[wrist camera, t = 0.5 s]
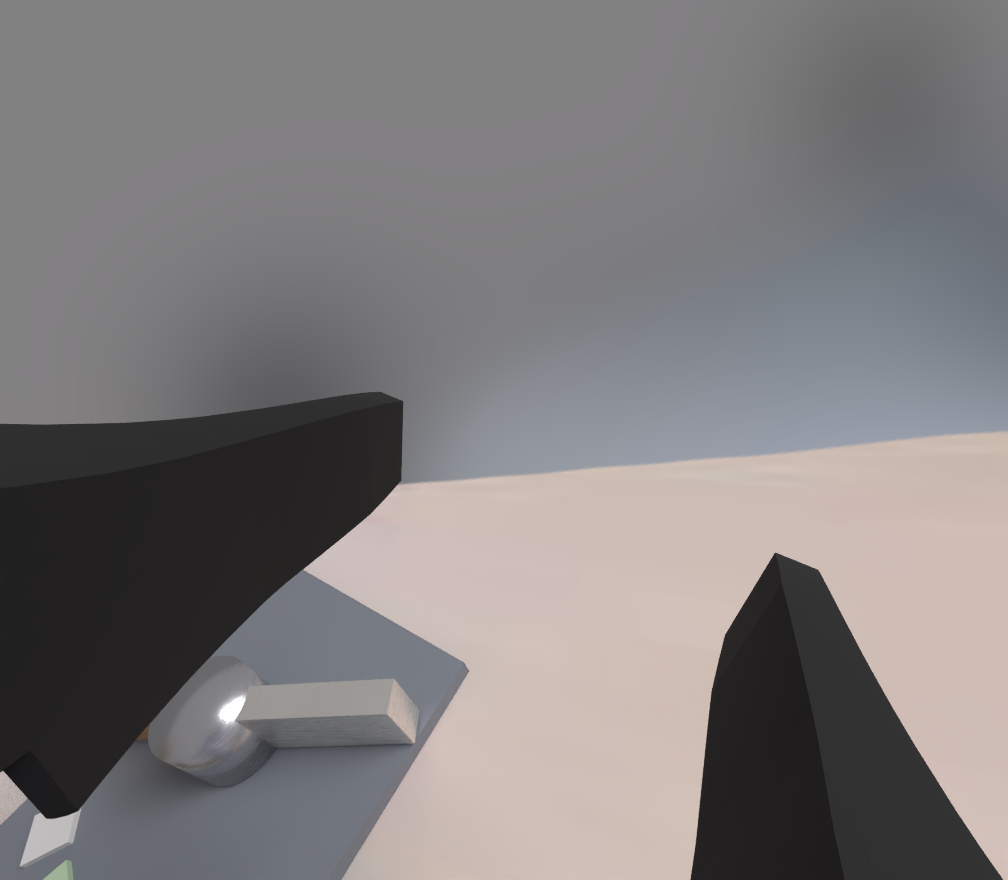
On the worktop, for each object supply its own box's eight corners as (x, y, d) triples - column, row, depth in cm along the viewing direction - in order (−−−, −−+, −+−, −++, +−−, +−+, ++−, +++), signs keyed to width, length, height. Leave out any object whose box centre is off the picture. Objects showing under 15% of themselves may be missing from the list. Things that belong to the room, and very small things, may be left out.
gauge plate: (73, 1315, 14) (36, 1336, 13) (-62, 910, 22) (-91, 906, 21) (468, 671, 25) (462, 659, 24) (283, 563, 33) (274, 552, 32)
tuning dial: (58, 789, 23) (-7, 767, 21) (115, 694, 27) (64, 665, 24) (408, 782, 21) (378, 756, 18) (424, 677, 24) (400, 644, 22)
